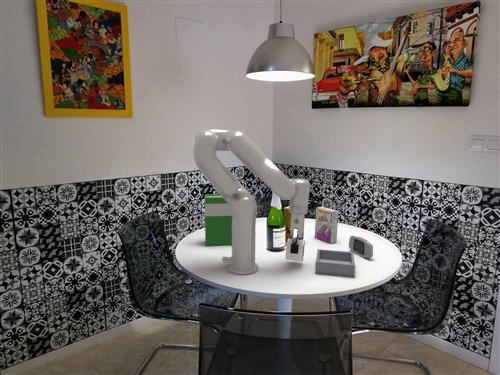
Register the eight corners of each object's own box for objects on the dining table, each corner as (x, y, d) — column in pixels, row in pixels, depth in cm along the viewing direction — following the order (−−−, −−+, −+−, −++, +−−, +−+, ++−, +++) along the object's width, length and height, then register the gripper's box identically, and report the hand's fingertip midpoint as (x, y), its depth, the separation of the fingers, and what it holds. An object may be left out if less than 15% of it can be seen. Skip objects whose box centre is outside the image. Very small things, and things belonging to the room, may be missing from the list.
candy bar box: (314, 238, 190) (315, 207, 187) (321, 236, 193) (322, 206, 190) (330, 244, 181) (331, 212, 178) (337, 242, 184) (338, 210, 181)
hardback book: (240, 240, 186) (240, 193, 181) (242, 245, 179) (242, 197, 174) (205, 241, 184) (204, 194, 179) (205, 246, 176) (204, 197, 172)
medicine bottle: (302, 261, 150) (304, 233, 148) (285, 259, 152) (287, 231, 149) (303, 255, 157) (305, 228, 155) (287, 253, 158) (288, 226, 156)
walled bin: (315, 273, 146) (315, 261, 145) (317, 260, 161) (317, 249, 160) (354, 277, 143) (355, 265, 142) (352, 263, 157) (353, 252, 157)
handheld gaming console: (347, 250, 173) (348, 234, 172) (352, 249, 174) (353, 233, 173) (368, 261, 160) (370, 243, 159) (374, 260, 161) (375, 242, 160)
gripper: (305, 214, 142) (302, 258, 145) (308, 205, 158) (305, 244, 161) (286, 212, 143) (283, 256, 146) (291, 203, 160) (288, 242, 163)
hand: (295, 249), depth 154 cm, fingers closed on medicine bottle, 7 cm apart
